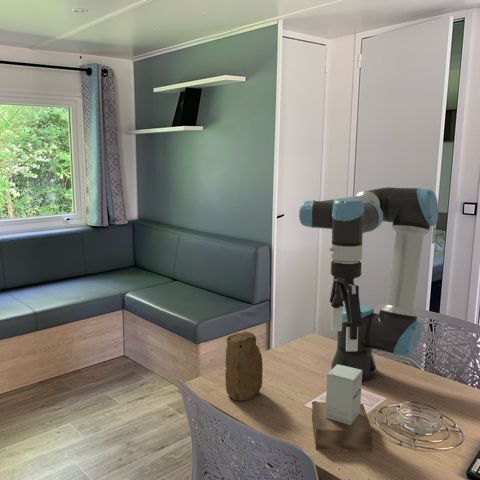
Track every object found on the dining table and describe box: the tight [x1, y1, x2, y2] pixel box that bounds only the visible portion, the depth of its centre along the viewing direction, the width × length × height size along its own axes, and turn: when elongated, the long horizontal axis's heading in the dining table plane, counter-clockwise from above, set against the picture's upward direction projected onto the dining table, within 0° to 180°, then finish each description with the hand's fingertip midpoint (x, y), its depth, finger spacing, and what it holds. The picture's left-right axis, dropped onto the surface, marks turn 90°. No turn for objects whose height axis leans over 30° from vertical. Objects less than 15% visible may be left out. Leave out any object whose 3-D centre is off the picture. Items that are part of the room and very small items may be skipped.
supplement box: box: [325, 364, 363, 425], centre depth 129 cm, size 7×7×13 cm
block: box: [224, 331, 264, 402], centre depth 151 cm, size 11×8×20 cm
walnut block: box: [311, 401, 373, 453], centre depth 131 cm, size 14×14×6 cm
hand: (343, 340), depth 127 cm, fingers open, 13 cm apart
